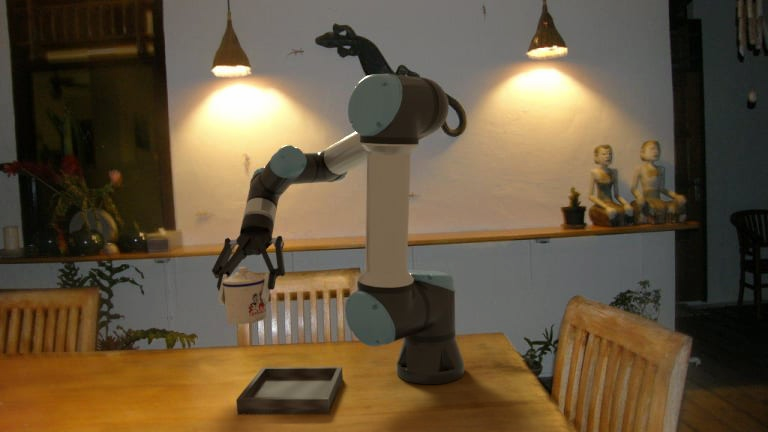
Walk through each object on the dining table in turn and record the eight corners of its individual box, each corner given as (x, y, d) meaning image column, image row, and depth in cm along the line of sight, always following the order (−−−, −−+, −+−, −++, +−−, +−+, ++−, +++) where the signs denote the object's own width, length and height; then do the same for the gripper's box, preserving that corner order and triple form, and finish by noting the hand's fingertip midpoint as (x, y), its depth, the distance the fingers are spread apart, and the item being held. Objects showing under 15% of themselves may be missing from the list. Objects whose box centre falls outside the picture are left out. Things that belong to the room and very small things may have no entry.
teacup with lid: (256, 325, 130) (252, 270, 128) (217, 324, 132) (213, 271, 131) (279, 311, 141) (276, 261, 140) (244, 310, 143) (240, 261, 142)
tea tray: (342, 379, 135) (342, 366, 135) (328, 414, 117) (328, 399, 117) (263, 380, 137) (262, 367, 136) (237, 414, 119) (236, 399, 118)
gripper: (305, 229, 149) (295, 309, 135) (219, 233, 151) (200, 312, 137) (299, 209, 144) (288, 290, 129) (210, 213, 145) (188, 294, 131)
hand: (242, 301), depth 133 cm, fingers closed on teacup with lid, 9 cm apart
